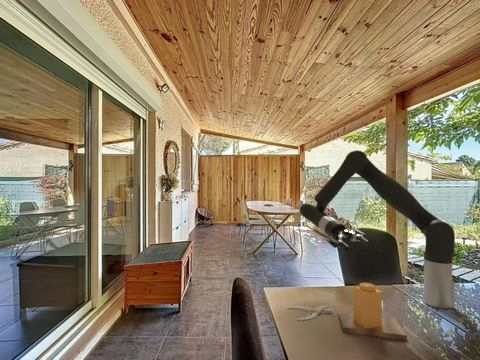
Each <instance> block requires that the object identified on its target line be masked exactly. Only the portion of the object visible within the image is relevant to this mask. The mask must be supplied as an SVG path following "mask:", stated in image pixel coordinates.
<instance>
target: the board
mask: <svg viewBox="0 0 480 360" xmlns="http://www.w3.org/2000/svg"><path fill="white" fill-rule="evenodd" d="M338 317H339V321H340V324H341V328H342V331H343V333H346V334H347V333H348V334H355V335H361V336H370V337H376V336H378V337H377V338H386V339H393V340H400V341H408V334H407V333H406V332H405V330H404V329H403V328H402V326H401V325H400V324H399V323H398V321H397V319H396V318H395V317H387V316H382V327H374V328H364V327H363V326H361V325H360V324H359V323H358V322H356V321H355V320H354V319H353V312H345V311H338Z"/></svg>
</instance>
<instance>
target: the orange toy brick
mask: <svg viewBox="0 0 480 360" xmlns="http://www.w3.org/2000/svg"><path fill="white" fill-rule="evenodd" d="M352 313H353V319H354V320H355V321H356V322H358V323H359V324H360V325H361V326H363V327H364V328H374V327H382V317H383V292H382V291H381V290H379V289H377V288H376V285H375V284H373V283H369V282H361V283H360V282H359V285H354V286H353V311H352Z"/></svg>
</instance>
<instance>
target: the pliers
mask: <svg viewBox="0 0 480 360" xmlns="http://www.w3.org/2000/svg"><path fill="white" fill-rule="evenodd" d="M329 307H330V306H329V305H319V306H316V308H311V307H308V306H307V307H306V306H300V305H299V306H298V305H297V306H296V305H295V306H293V305H292V306H287V309H288V310H293V309H294V310H301V311H304V312H307V313H308V314H307V316H306V317H299V318H296V321H310V320H312V319H315V318H317V316H319V315H320V314H322V315H323V314H333V309H332V308H329ZM312 312H313V313H312Z"/></svg>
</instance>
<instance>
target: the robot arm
mask: <svg viewBox="0 0 480 360" xmlns="http://www.w3.org/2000/svg"><path fill="white" fill-rule="evenodd" d="M354 175H358V176H359V177H360V178H362V179H363V180H364V181H365V182H366V183H368V185H369V186H370V187H371V188H372V189H373V190H374V191H375V192H376V193H377V195H378V196H379V197H380V198H382V199H383V201H385V202H386V203H387V204H388V205H389V206H391V207H392V209H394V210H395V211H397V212H398V213H399V214H400V215H403V217H406V218H407V219H408V220H409V221H410V222H412V223H413V224H414V225H415V227H417V228H418V229H419V230H420V232H421V234H423V236H424V237H425V248H424V249H425V250H424V252H423V302H424V303H425V304H426V305H428V306H431V307H433V308H438V309H441V310H442V309H444V310H450V309H455V307H456V299H455V298H456V283H454V282H453V258H454V255H455V246H456V245H455V241H456V239H455V238H456V237H455V236H456V235H455V230H454V228H453V226H451V224H449V223H447V222H445V221H444V220H441V219H439V218H438V217H436V216H435V215H433V214H432V213H431V212H430V211H428V210H427V209H425V208H424V206H422V205H421V204H420V202H419V201H418V199H416V198H415V196H414V195H413V194H412V193H411V192H410V191H409V190H408V189H406V188H405V187H404V186H403V185H402V184H401V183H399V182H398V181H397V180H395V179H394V178H393V177H391V176H390V175H388V174H386V173H384V172H383V171H382V170H380V169H379V168H378V167H377V166H376V165H375V164H374V163H373V162H372V161H371V160H370V159H369V158H368V156H367V154H366V153H365V152H364V151H362V150H360V149H359V150H357V149H356V150H351V151H350V152H349V153H347V155H345V158H344V160H343V161H342V163H341V165H340V167H339V168H337V170H336V172H335V173H334V174H333V176H332V177H331V178H330V179H328V181H327V182H326V183H325V184H324V185H323V186H322V188H321V189H319V190H318V191H317V193H316V194H315V195H314V200H315V202H316V205H314V204H312V203H310V202H305V203H303V204H302V205H301V206H300V207H299V208H300V209H299V213H300V215H301V216H302V217H303V218H305V219H306V220H308V221H309V222H311V223H313V225H315V226H316V227H317V228H318V229H320V230H321V231H322V233H324V234H325V235H326V242H328V244H329V245H331V246H332V248H334V249H336V248H337V247H338V248H340V249H342V250H343V251H344V252H347V253H349V252H351V251H350V250H351V247H350V245H348V244H347V243H346V242H349V241H351V242H359V243H361V244H362V245H363V246H365V247H369V245H370V241H369V240H368V239H366V233H364V232H363V231H362V230H360V229H357V228H356V227H353V228H352V229H351V230H350V229H347V227H346V226H345V224H343V223H341V222H340V221H339V220H337V219H336V218H334V217H332V216H330V215H329V214H327V213H326V212H325V211H326V209H327V207H328V205H329V204H330V203H331V202H332V201H333V200H334V199H335V197H336V196H337V195H338V194H339V192H340V191H341V190H342V188H343V187H344V186H345V185H346V183H347V182H348V181H349V180H350V179H351V178H352V177H353V176H354Z"/></svg>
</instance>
